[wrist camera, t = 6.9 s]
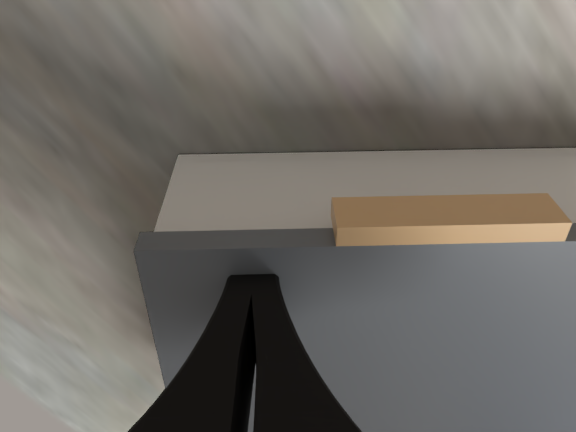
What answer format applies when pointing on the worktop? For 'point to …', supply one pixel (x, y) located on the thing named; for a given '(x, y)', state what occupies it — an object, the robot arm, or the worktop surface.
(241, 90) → the worktop surface
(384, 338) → the lid
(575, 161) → the storage box
